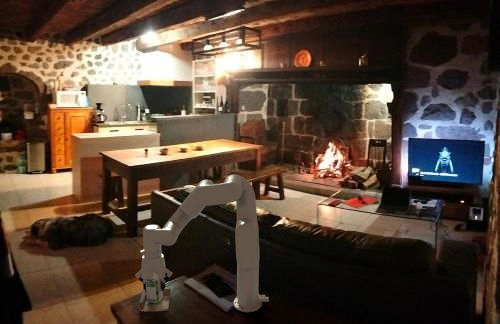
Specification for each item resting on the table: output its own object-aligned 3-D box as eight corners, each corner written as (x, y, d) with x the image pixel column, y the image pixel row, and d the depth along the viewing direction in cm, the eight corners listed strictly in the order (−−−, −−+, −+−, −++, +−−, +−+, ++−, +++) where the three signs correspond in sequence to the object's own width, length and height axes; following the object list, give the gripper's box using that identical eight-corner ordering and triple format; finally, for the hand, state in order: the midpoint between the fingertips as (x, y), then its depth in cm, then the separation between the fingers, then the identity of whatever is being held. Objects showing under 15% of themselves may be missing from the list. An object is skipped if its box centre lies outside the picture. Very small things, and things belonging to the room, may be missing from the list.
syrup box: (146, 302, 179) (144, 272, 176) (152, 295, 184) (150, 266, 181) (158, 303, 178) (156, 273, 175) (163, 296, 183) (162, 267, 180)
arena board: (170, 295, 187) (170, 287, 186) (168, 310, 176) (167, 301, 175) (144, 296, 186) (143, 288, 185) (139, 311, 175) (139, 302, 174)
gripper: (130, 257, 172) (133, 295, 176) (172, 256, 173) (173, 293, 177) (134, 250, 179) (136, 286, 183) (173, 248, 181) (175, 285, 185)
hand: (154, 289), depth 180 cm, fingers closed on syrup box, 6 cm apart
